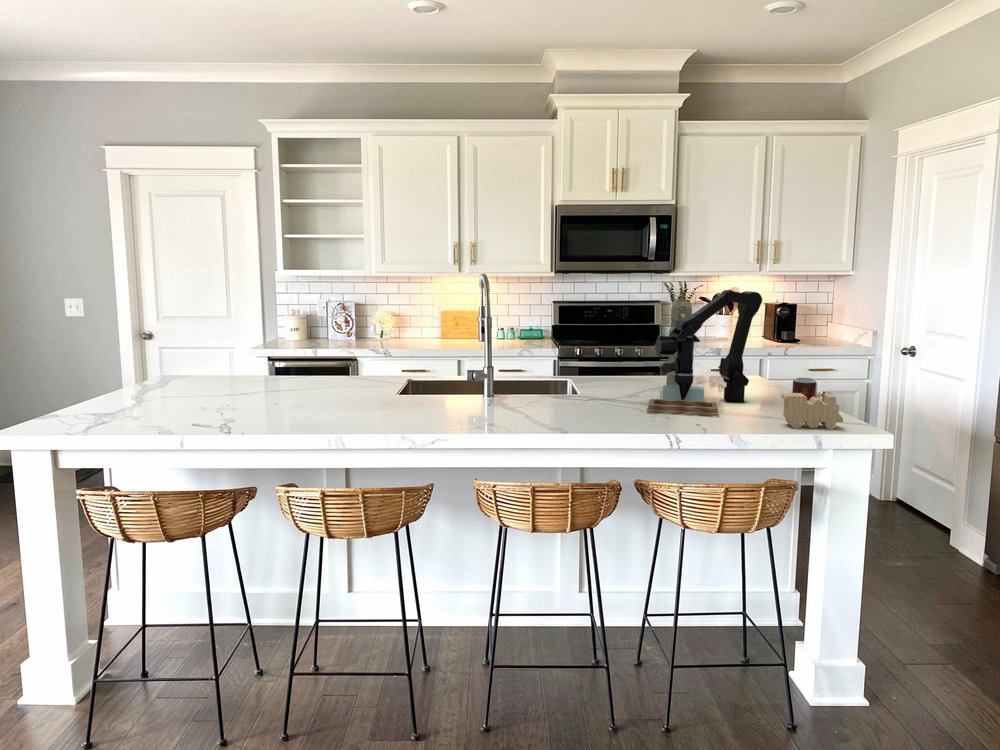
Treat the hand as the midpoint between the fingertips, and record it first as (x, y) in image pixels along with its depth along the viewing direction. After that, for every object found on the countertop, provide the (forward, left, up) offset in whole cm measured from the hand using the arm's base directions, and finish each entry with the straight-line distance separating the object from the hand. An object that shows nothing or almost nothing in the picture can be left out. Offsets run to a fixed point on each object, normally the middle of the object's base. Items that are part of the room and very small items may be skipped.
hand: (682, 398), depth 255 cm
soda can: (-38, +12, -2) cm, 40 cm away
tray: (0, +15, -2) cm, 15 cm away
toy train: (-38, +28, -2) cm, 47 cm away
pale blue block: (0, 0, -2) cm, 2 cm away
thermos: (+2, -23, -2) cm, 23 cm away
